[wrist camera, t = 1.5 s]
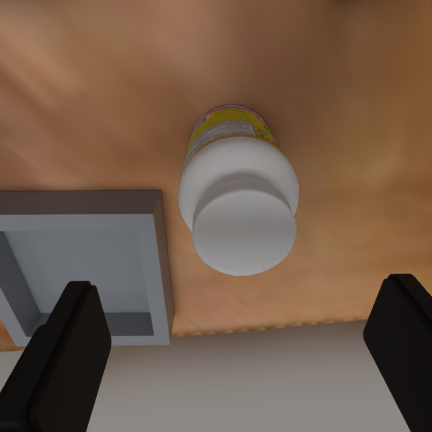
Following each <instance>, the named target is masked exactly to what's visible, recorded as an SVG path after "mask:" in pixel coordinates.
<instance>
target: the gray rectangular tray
mask: <svg viewBox="0 0 432 432" xmlns="http://www.w3.org/2000/svg"><path fill="white" fill-rule="evenodd" d="M70 281H90V282H91V285H95V286H96V287H97V290H98V294H99V297H100V300H101V304H102V307H103V311H104V314H105V318H106V321H107V325H108V328H109V331H110V335H111V339H112V344H111V345H170V343H171V336H172V329H173V321H174V305H173V296H172V287H171V278H170V269H169V260H168V250H167V241H166V232H165V223H164V214H163V205H162V196H161V190H123V191H0V318H1V320H2V321H3V323H4V325H5V327H6V328H7V330H8V332H9V334H10V336H11V337H12V339H13V341H14V343H15V344H16V346H27V345H28V343H29V341H30V339H31V337H32V336H33V334H34V332H35V331H36V330H37V328H38V327H39V326H41V325H43V324H45V323H46V321H47V320H48V318H49V316H50V314H51V312H52V310H53V309H54V307H55V305H56V303H57V301H58V300H59V298H60V296H61V294H62V292H63V290H64V289H65V287H66V285H67V284H68V282H70Z"/></svg>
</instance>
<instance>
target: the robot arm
mask: <svg viewBox="0 0 432 432" xmlns="http://www.w3.org/2000/svg"><path fill="white" fill-rule="evenodd" d="M363 337H364V341H365V343H366V345H367V347H368V349H369V351H370V353H371V355H372V357H373V359H374V361H375V363H376V365H377V367H378V369H379V371H380V373H381V375H382V376H383V378H384V380H385V382H386V384H387V386H388V388H389V390H390V392H391V394H392V396H393V398H394V400H395V402H396V404H397V405H398V408H399V410H400V412H401V413H402V415H403V417H404V419H405V421H406V423H407V425H408V427H409V429H410V431H411V432H432V297H431V295H430V294H429V293H428V292H427V291H426V290H425V288H424V287H423V286H422V285H421V284H420V282H419V281H418V280H417V279H416V278H415V277H414V276H413V275H412V274H390V275H389V276H388V278H387V279H384V281H383V283H382V285H381V288H380V290H379V293H378V295H377V298H376V301H375V303H374V306H373V308H372V311H371V313H370V316H369V318H368V321H367V324H366V326H365V328H364V332H363ZM111 344H112V339H111V335H110V331H109V328H108V325H107V321H106V318H105V314H104V311H103V307H102V304H101V300H100V297H99V294H98V290H97V287H96V286H95V285H91V282H90V281H70V282H68V284H67V285H66V287H65V289H64V290H63V292H62V294H61V296H60V298H59V300H58V301H57V303H56V305H55V307H54V309H53V310H52V312H51V314H50V316H49V318H48V320H47V321H46V323H45V324H43V325H41V326H39V327H38V328H37V330H36V331H35V332H34V334H33V336H32V337H31V339H30V341H29V343H28V345H27V346H26V348H25V350H24V352H23V353H22V355H21V357H20V359H19V360H18V362H17V364H16V366H15V367H14V369H13V371H12V373H11V375H10V376H9V378H8V380H7V382H6V383H5V385H4V387H3V389H2V390H1V392H0V432H86V430H87V426H88V423H89V420H90V417H91V413H92V410H93V407H94V403H95V400H96V397H97V393H98V390H99V386H100V383H101V380H102V376H103V373H104V370H105V367H106V363H107V359H108V357H109V353H110V350H111Z"/></svg>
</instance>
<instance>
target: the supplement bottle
mask: <svg viewBox="0 0 432 432" xmlns="http://www.w3.org/2000/svg"><path fill="white" fill-rule="evenodd" d="M298 202H299V184H298V180H297V176H296V173H295V171H294V169H293V167H292V165H291V164H290V162H289V160H288V159H287V157H286V155H285V154H284V152H283V150H282V149H281V147H280V145H279V144H278V142H277V140H276V139H275V137H274V135H273V134H272V132H271V130H270V129H269V127H268V126H267V124H266V123H265V121H264V120H263V119H262V118H261V117H260V116H259V115H258V114H256V113H255V112H254V111H252V110H250V109H248V108H245V107H242V106H236V105H227V106H222V107H218V108H215V109H213V110H211V111H209V112H208V113H206V114H205V115H204V116H203V117H202V118H201V119H200V120H199V121H198V122H197V124H196V125H195V127H194V128H193V131H192V133H191V136H190V139H189V143H188V147H187V152H186V157H185V161H184V166H183V171H182V175H181V179H180V183H179V189H178V204H179V209H180V213H181V215H182V218H183V220H184V222H185V224H186V225H187V227H188V228H189V229H190V231H191V232H192V239H193V244H194V247H195V249H196V252H197V253H198V255H199V256H200V258H201V259H202V260H203V261H204V262H205V263H206V264H207V265H209V266H210V267H212V268H213V269H215V270H217V271H219V272H222V273H225V274H229V275H236V276H246V275H253V274H257V273H261V272H263V271H266V270H268V269H270V268H272V267H274V266H276V265H277V264H278V263H280V262H281V261H282V260H283V259H284V258H285V257H286V256H287V255H288V253H289V252H290V250H291V249H292V247H293V244H294V242H295V238H296V222H295V218H294V215H295V212H296V210H297V206H298Z"/></svg>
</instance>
